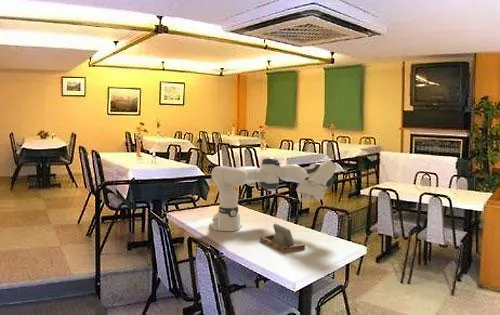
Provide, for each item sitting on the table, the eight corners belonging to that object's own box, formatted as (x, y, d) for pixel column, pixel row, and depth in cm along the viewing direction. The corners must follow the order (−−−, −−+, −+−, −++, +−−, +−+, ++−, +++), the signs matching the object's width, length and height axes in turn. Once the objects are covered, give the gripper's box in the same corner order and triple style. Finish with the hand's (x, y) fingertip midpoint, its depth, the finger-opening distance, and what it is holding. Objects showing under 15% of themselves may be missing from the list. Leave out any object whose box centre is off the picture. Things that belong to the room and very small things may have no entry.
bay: (260, 241, 257) (260, 236, 257) (279, 238, 264) (279, 233, 264) (284, 253, 237) (284, 248, 236) (304, 249, 244) (304, 244, 243)
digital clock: (295, 248, 245) (296, 229, 244) (280, 249, 243) (280, 230, 241) (285, 240, 260) (285, 222, 259) (270, 241, 258) (271, 222, 257)
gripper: (331, 189, 251) (317, 208, 247) (308, 184, 268) (294, 201, 264) (326, 182, 248) (311, 201, 244) (303, 177, 266) (289, 194, 262)
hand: (302, 201), depth 254 cm, fingers closed
